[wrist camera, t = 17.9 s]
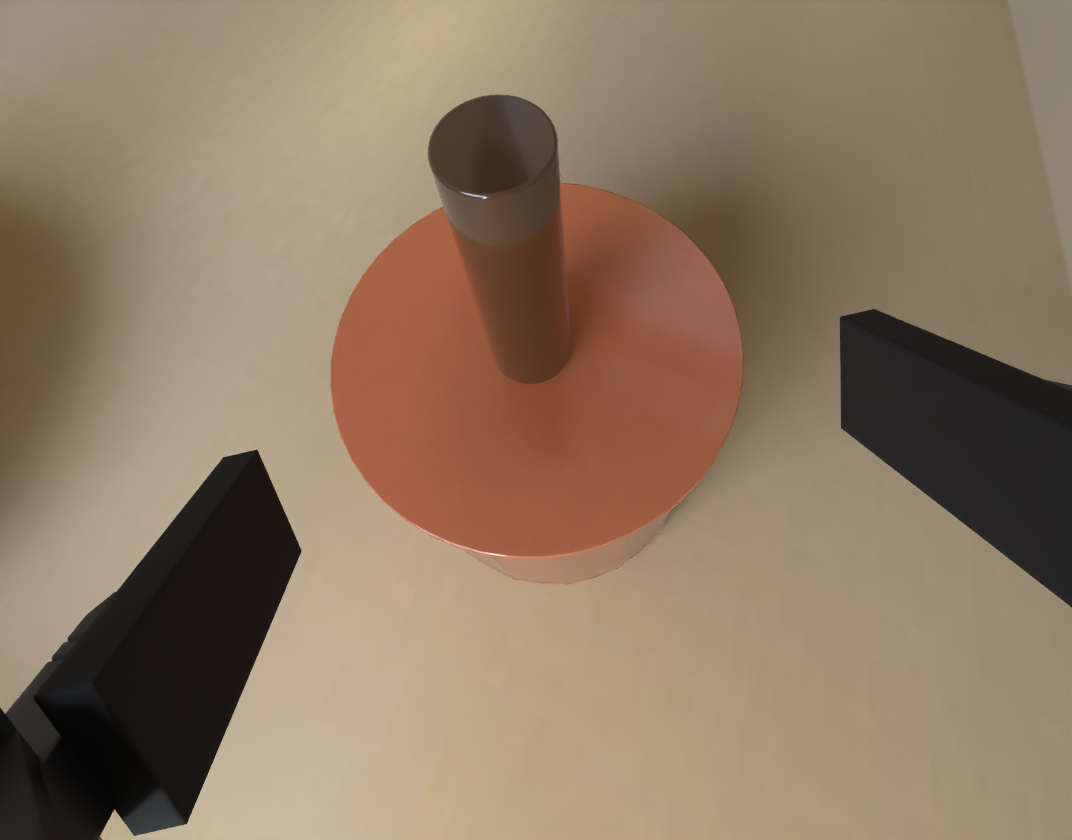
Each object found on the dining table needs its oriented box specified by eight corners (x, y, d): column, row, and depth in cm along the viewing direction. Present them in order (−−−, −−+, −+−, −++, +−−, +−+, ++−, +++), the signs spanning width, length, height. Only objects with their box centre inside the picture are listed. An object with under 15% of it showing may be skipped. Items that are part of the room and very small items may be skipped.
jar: (718, 403, 33) (781, 277, 22) (612, 633, 29) (624, 619, 18) (504, 311, 36) (466, 160, 25) (385, 511, 32) (279, 436, 21)
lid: (795, 281, 22) (946, 3, 13) (631, 644, 19) (673, 632, 9) (464, 158, 26) (387, -139, 16) (267, 449, 22) (15, 288, 12)
